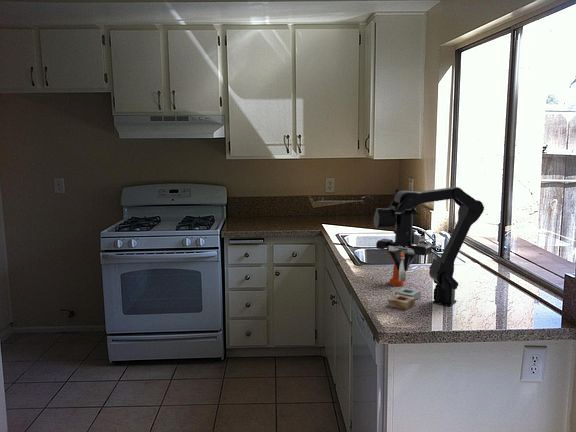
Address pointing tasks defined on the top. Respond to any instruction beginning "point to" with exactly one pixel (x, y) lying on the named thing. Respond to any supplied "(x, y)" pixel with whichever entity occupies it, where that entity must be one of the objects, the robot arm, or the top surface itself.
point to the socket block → (401, 301)
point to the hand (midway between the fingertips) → (402, 270)
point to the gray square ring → (409, 292)
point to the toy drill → (395, 273)
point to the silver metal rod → (402, 270)
